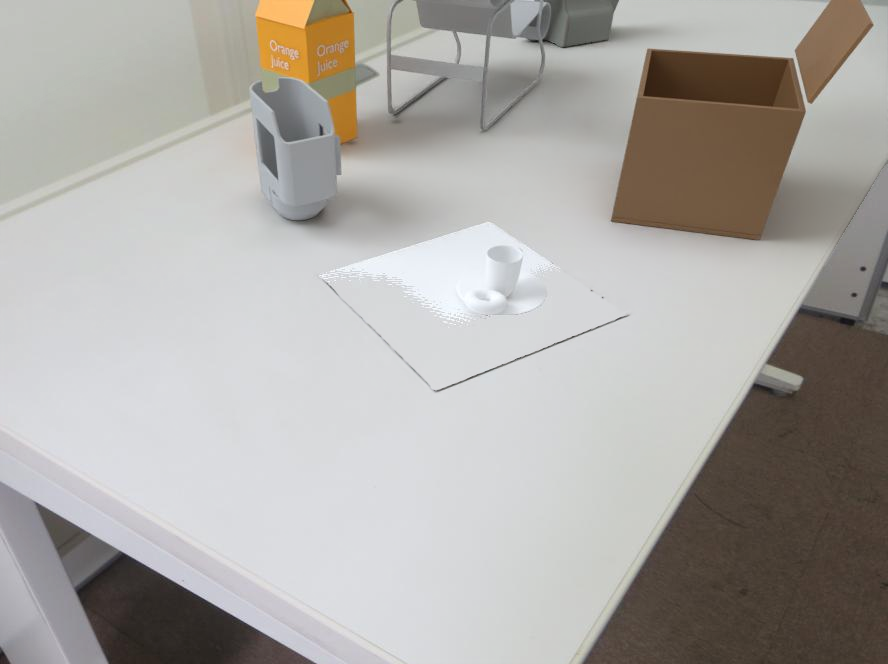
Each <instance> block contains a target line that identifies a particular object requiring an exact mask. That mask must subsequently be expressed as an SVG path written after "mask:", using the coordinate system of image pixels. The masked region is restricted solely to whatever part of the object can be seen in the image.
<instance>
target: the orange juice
mask: <svg viewBox="0 0 888 664" xmlns="http://www.w3.org/2000/svg"><path fill="white" fill-rule="evenodd" d="M254 16H255V22H256V33H257V42H258V51H259V59H260V60H259V62H260V73H261V74H260V76H261V81H262V87H263V91H265V92H267V91H272V90H276V89H277V88H278V77H291V78H297V79H300V80H302V81H304V82H305V83H306V84H308V85H309V86H310V87H311V88H312V89H314V90H315V91H316V92H317V93H318V94H320V95H321V96H322V97H323V98H324V99H326V100H327V101H328V103H329V107H330V111H331V115H332V120H333V124H334V131H335V135H338V136H340V145H342V144H345V143H347V142H349V141H351V140H354V139H357V138H358V117H357V116H358V115H357V67H356V45H355V43H356V42H355V12H354V11H352V9H351V7H350V5H349V3H348V1H347V0H259V2H258V4H257V7H256V10H255V14H254Z"/></svg>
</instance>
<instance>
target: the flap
mask: <svg viewBox="0 0 888 664" xmlns="http://www.w3.org/2000/svg"><path fill="white" fill-rule="evenodd" d="M874 26H875V25H874V23H873V21H872V19H871V17H870V15H869V13H868V12H867V9H866V8H865V6H864V4H863V2H862V0H830V1H829V2H828V4H826V7H825V8H824V9H823V10H822V12H821V13H820V14H819V16H818V18H817V19H816V20H815V21H814V23H813V24H812V26H810V28H809V30H808V31H807V32H806V34H805V35H804V37H803V38H802V39H801V41H800V42H799V43H798V44H797V46H796V48H795V49H794V53H795V57H796V60H797V65H798V69H799V73H800V78H801V81H802V85H803V90H804V93H805V97H806V101H807V103H809V104H810V105H812V104H813V103H814V102H815V101H816V99H818V97H819V95H821V93H822V92H823V91H824V89H825V88H826V87H827V85H828V84H829V83H830V81H831V80H832V78H834V76H835V75H836V74H837V73H838V71H839V70H840V69H841V68H842V66H843V65H844V64H845V62H846V61H847V60H848V58H849V57H850V56H851V55H852V54H853V52H854V51H855V50H856V49H857V47H858V46H859V45H860V44H861V42H862V41H863V39H864V38H865V37H866V36H867V34H868V33H869V32H870V31H871V29H872V28H873V27H874Z"/></svg>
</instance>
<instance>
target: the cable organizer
mask: <svg viewBox="0 0 888 664" xmlns="http://www.w3.org/2000/svg"><path fill="white" fill-rule="evenodd" d="M248 92H249V99H250V107H251V117H252V124H253V134H254V144H255V151H256V159H257V168H258V176H259V186H260V192H261V194H262V195H263V196H264V197H265V199H267V201H268V203H269V204H270V205H271V206H272V207H273V209H274V210H275V211H276V212H277V213H278V214H279V215H280V216H281V217H283V218H285V219H287V220H290V221H306V220H309V219H312V218H314V217H317V215H318V214H320V213H321V211H322V210H323V209H324V208H325V207H326V205H327V204H328V200H329V199H333V198H335V197H336V196H337V194H338V178H337V176H342V150H341V144H340V136H338V135H335V131H334V124H333V120H332V115H331V111H330V107H329V103H328V101H327V100H326V99H324V98H323V97H322V96H321V95H320V94H318V93H317V92H316V91H315V90H314V89H312V88H311V87H310V86H309V85H308V84H306V83H305V82H304V81H302V80H300V79H297V78H291V77H278V88H277V89H276V90H272V91H267V92H265V91H264V90H263V84H262V79H259V80H257V81H255V82H253V83H252V84H250V86H249V89H248Z"/></svg>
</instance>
